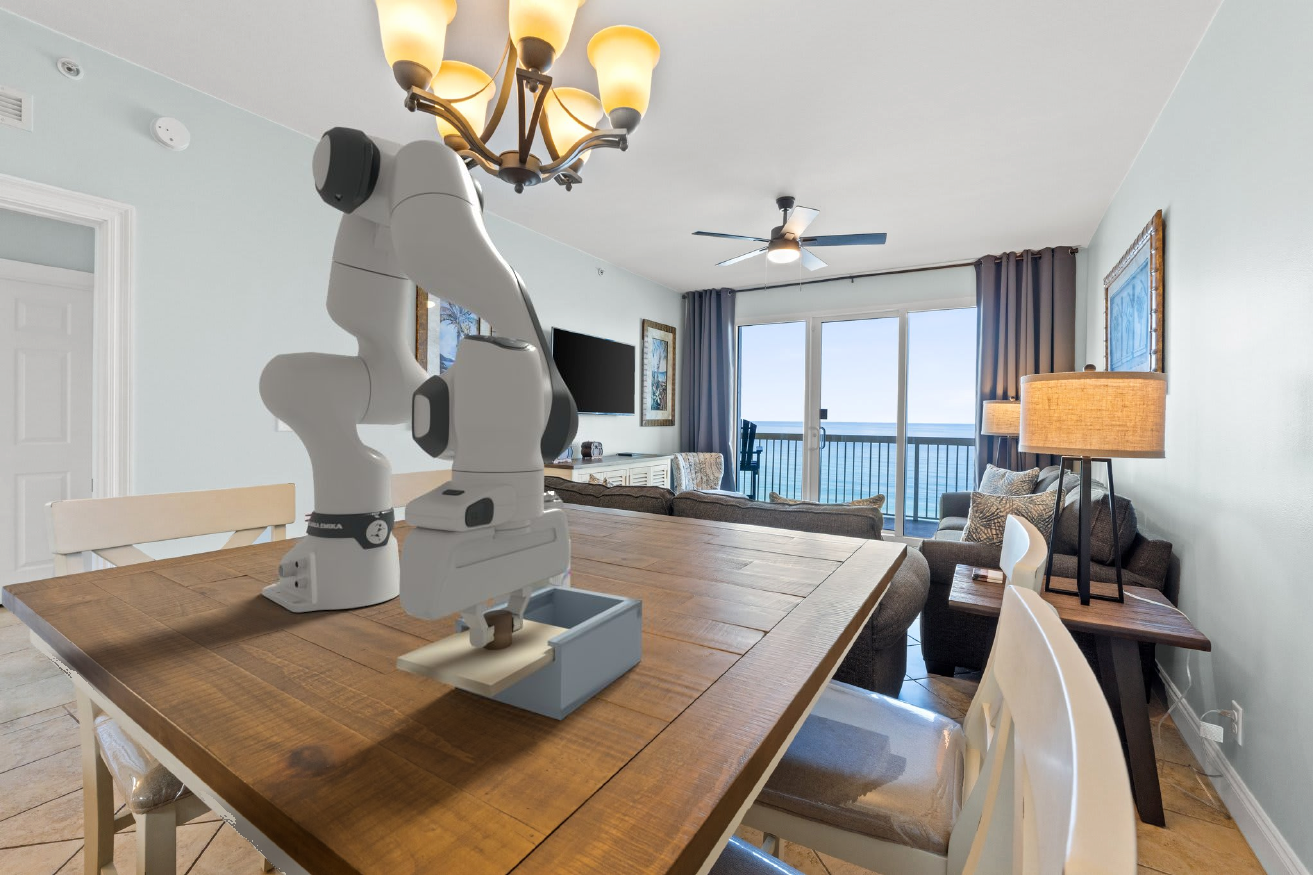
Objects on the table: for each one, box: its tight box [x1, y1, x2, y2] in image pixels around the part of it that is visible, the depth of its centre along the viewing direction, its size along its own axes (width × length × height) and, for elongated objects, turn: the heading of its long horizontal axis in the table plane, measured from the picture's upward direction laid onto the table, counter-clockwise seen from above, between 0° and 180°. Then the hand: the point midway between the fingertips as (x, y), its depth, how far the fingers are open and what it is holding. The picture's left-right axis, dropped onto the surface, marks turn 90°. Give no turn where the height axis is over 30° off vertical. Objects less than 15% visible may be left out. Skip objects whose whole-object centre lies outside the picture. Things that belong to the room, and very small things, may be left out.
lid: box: [396, 610, 569, 697], centre depth 56 cm, size 12×14×4 cm
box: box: [454, 584, 643, 721], centre depth 65 cm, size 14×16×7 cm
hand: (497, 637), depth 56 cm, fingers closed on lid, 3 cm apart
